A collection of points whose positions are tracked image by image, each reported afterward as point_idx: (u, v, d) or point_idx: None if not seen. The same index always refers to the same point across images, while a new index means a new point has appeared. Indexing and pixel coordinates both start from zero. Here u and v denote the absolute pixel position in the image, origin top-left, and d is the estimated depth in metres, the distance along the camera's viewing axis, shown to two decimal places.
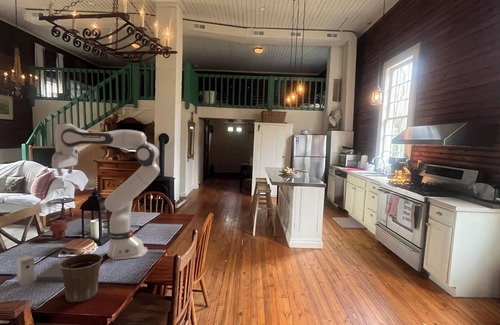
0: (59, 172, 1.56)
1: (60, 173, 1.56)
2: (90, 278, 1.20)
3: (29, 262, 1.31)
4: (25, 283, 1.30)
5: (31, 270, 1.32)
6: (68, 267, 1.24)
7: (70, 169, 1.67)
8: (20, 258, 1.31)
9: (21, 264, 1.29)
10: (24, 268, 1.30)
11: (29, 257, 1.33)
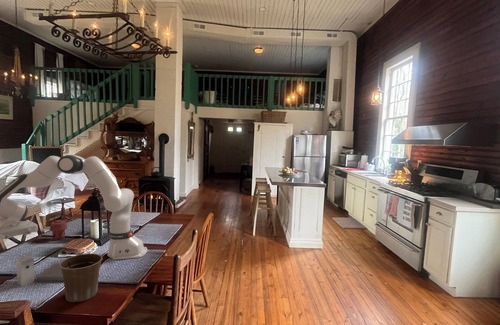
0: (1, 237, 1.35)
1: (2, 236, 1.35)
2: (90, 278, 1.20)
3: (29, 262, 1.31)
4: (25, 283, 1.30)
5: (31, 270, 1.32)
6: (68, 267, 1.24)
7: None
8: (20, 258, 1.31)
9: (21, 264, 1.29)
10: (24, 268, 1.30)
11: (29, 257, 1.33)
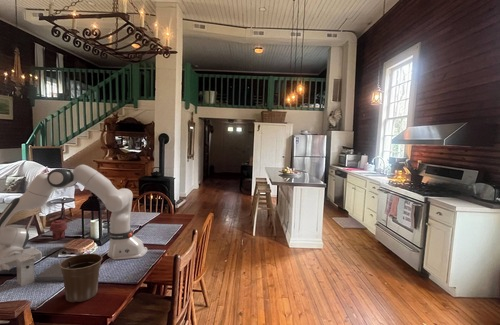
0: (5, 268, 1.33)
1: (6, 267, 1.33)
2: (90, 278, 1.20)
3: (29, 262, 1.31)
4: (25, 283, 1.30)
5: (31, 270, 1.32)
6: (68, 267, 1.24)
7: None
8: (20, 258, 1.31)
9: (21, 264, 1.29)
10: (24, 268, 1.30)
11: (29, 257, 1.33)
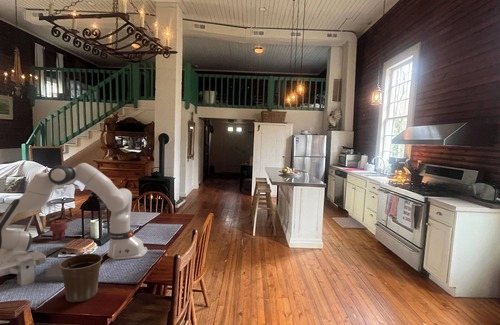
0: (13, 271, 1.30)
1: (14, 271, 1.29)
2: (90, 278, 1.20)
3: (29, 262, 1.31)
4: (25, 283, 1.30)
5: (31, 270, 1.32)
6: (68, 267, 1.24)
7: None
8: (20, 258, 1.31)
9: (21, 264, 1.29)
10: (24, 268, 1.30)
11: (29, 257, 1.33)
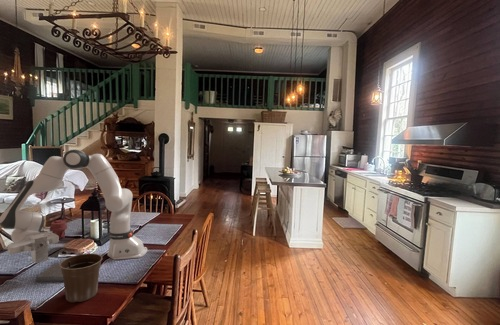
0: (27, 249, 1.32)
1: (28, 248, 1.32)
2: (90, 278, 1.20)
3: (43, 240, 1.33)
4: (39, 260, 1.33)
5: (44, 247, 1.34)
6: (68, 267, 1.24)
7: None
8: (34, 236, 1.34)
9: (35, 241, 1.31)
10: (38, 246, 1.32)
11: (43, 235, 1.35)
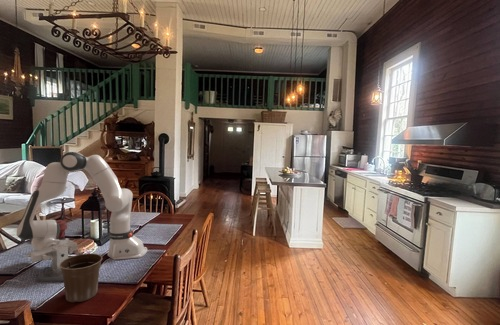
0: (46, 258, 1.36)
1: (47, 257, 1.36)
2: (90, 278, 1.20)
3: (64, 251, 1.39)
4: (60, 270, 1.38)
5: (65, 258, 1.40)
6: (68, 267, 1.24)
7: None
8: (55, 247, 1.39)
9: (57, 252, 1.36)
10: (60, 256, 1.37)
11: (63, 246, 1.41)
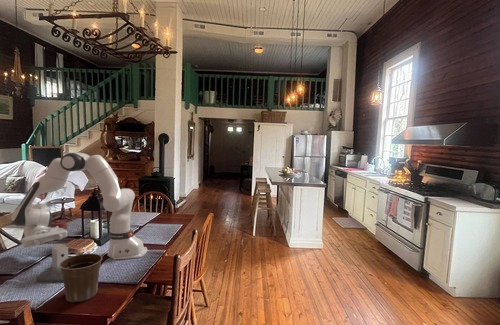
0: (36, 243, 1.45)
1: (37, 242, 1.44)
2: (90, 278, 1.20)
3: (64, 251, 1.39)
4: (60, 270, 1.38)
5: (65, 258, 1.40)
6: (68, 267, 1.24)
7: None
8: (55, 247, 1.39)
9: (57, 252, 1.36)
10: (60, 256, 1.37)
11: (63, 246, 1.41)
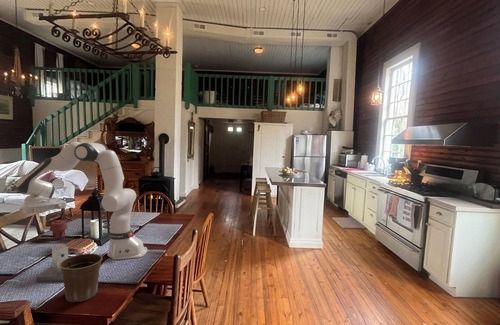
0: (36, 210, 1.49)
1: (37, 210, 1.49)
2: (90, 278, 1.20)
3: (64, 251, 1.39)
4: (60, 270, 1.38)
5: (65, 258, 1.40)
6: (68, 267, 1.24)
7: None
8: (55, 247, 1.39)
9: (57, 252, 1.36)
10: (60, 256, 1.37)
11: (63, 246, 1.41)
